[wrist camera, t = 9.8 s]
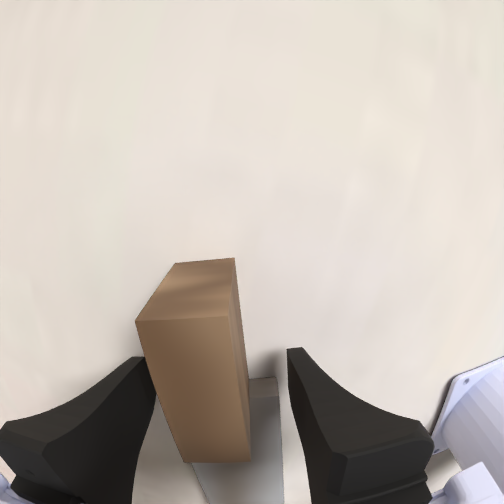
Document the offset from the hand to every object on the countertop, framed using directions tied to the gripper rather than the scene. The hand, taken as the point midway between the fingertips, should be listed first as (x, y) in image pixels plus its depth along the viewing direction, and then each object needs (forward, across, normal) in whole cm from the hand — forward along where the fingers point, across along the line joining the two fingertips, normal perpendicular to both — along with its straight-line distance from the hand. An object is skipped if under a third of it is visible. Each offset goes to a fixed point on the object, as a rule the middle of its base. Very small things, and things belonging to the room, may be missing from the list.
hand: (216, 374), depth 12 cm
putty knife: (+1, 0, +7) cm, 7 cm away
